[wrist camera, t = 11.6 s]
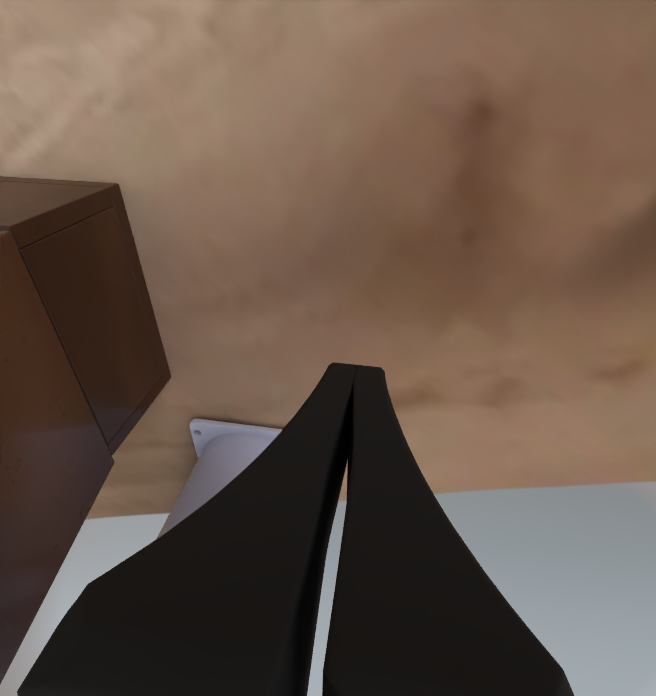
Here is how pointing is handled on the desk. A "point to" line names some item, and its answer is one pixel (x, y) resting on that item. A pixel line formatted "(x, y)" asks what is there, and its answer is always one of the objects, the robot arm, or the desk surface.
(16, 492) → the chest lid
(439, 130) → the desk surface
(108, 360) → the chest
